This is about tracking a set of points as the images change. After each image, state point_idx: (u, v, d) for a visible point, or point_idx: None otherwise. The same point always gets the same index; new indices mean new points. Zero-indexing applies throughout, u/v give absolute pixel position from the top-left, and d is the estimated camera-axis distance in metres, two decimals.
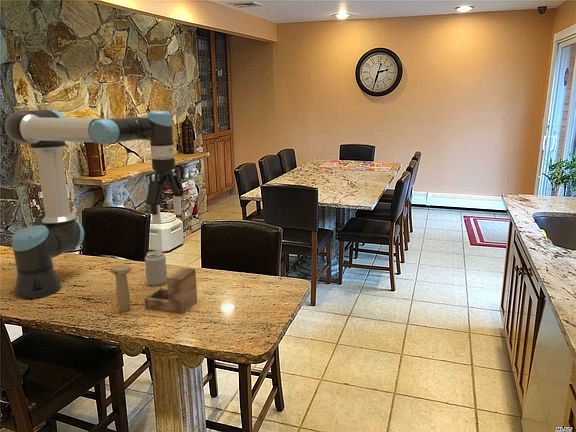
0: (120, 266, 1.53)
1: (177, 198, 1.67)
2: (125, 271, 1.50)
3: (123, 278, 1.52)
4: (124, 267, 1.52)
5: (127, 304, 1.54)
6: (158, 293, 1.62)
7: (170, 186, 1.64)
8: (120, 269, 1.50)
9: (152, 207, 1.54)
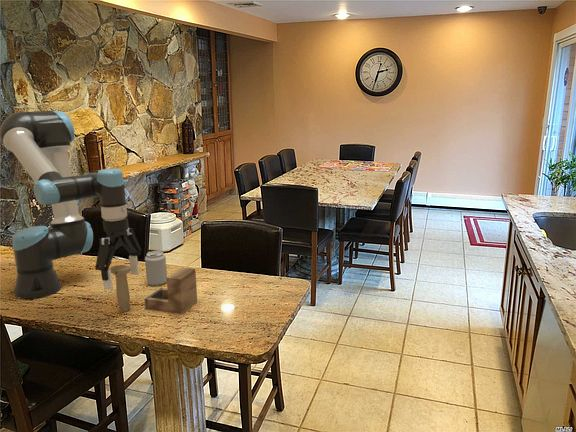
0: (120, 266, 1.53)
1: (133, 258, 1.57)
2: (125, 271, 1.50)
3: (123, 278, 1.52)
4: (124, 267, 1.52)
5: (127, 304, 1.54)
6: (158, 293, 1.62)
7: (125, 246, 1.54)
8: (120, 269, 1.50)
9: (102, 272, 1.44)
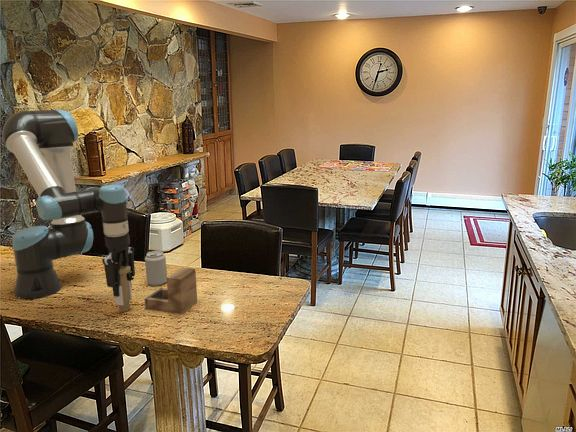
0: (120, 266, 1.53)
1: None
2: (125, 271, 1.50)
3: (123, 278, 1.52)
4: (124, 267, 1.52)
5: (127, 304, 1.54)
6: (158, 293, 1.62)
7: (122, 265, 1.54)
8: (120, 269, 1.50)
9: (114, 289, 1.50)
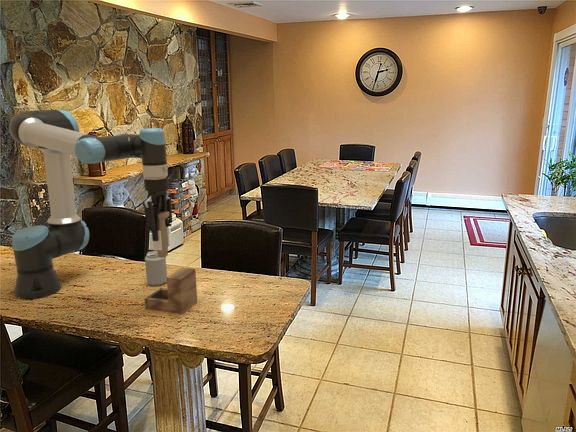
0: None
1: None
2: (164, 215, 1.50)
3: (162, 223, 1.51)
4: (163, 212, 1.52)
5: (165, 250, 1.54)
6: (158, 293, 1.62)
7: (160, 210, 1.53)
8: (159, 213, 1.50)
9: (153, 233, 1.50)
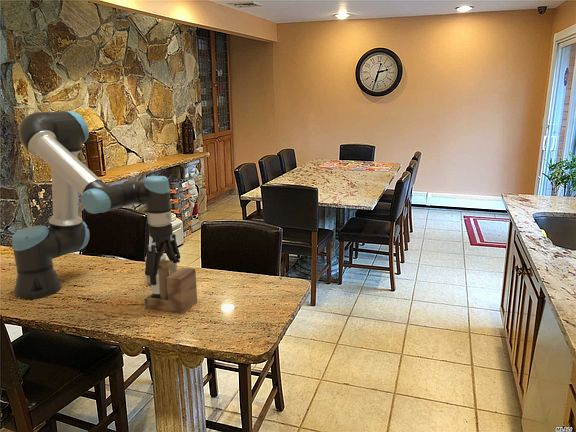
0: (163, 261, 1.58)
1: (173, 265, 1.61)
2: (168, 265, 1.54)
3: (166, 273, 1.56)
4: (167, 262, 1.56)
5: None
6: None
7: (167, 252, 1.59)
8: (163, 264, 1.55)
9: (151, 277, 1.50)
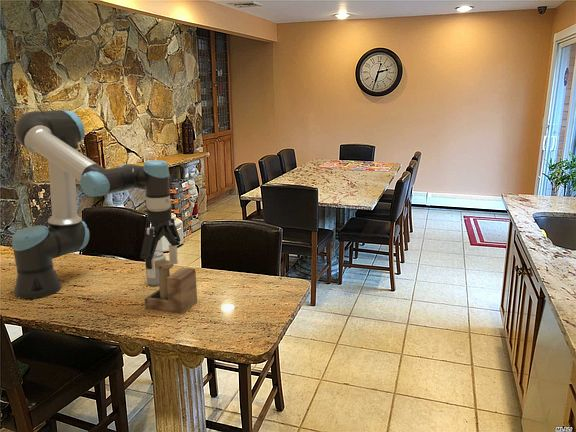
0: (163, 261, 1.57)
1: (173, 247, 1.61)
2: (168, 266, 1.54)
3: (166, 273, 1.56)
4: (168, 263, 1.56)
5: None
6: (158, 293, 1.62)
7: (166, 236, 1.58)
8: (164, 264, 1.55)
9: (146, 261, 1.48)
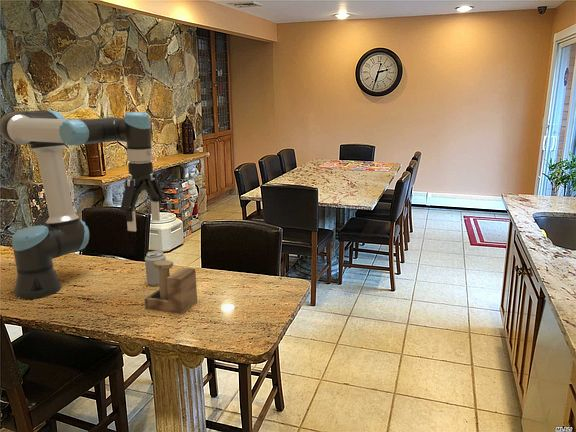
0: (163, 261, 1.57)
1: (155, 203, 1.60)
2: (168, 265, 1.54)
3: (166, 273, 1.56)
4: (168, 262, 1.56)
5: None
6: (158, 293, 1.62)
7: (148, 191, 1.57)
8: (164, 264, 1.55)
9: (127, 213, 1.46)
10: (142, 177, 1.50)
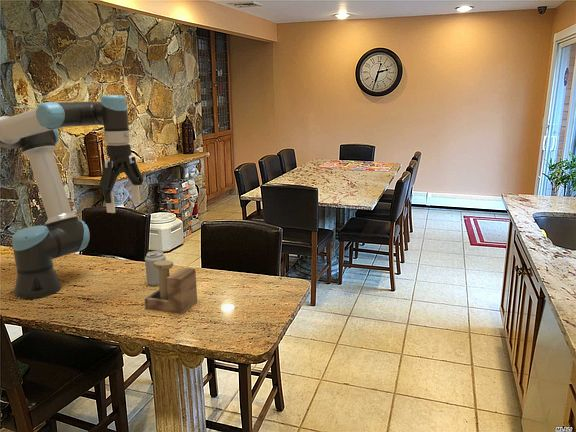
0: (163, 261, 1.57)
1: (135, 187, 1.61)
2: (168, 266, 1.54)
3: (166, 273, 1.56)
4: (167, 262, 1.56)
5: None
6: (158, 293, 1.62)
7: (127, 174, 1.58)
8: (164, 264, 1.55)
9: (105, 195, 1.48)
10: (120, 159, 1.52)
